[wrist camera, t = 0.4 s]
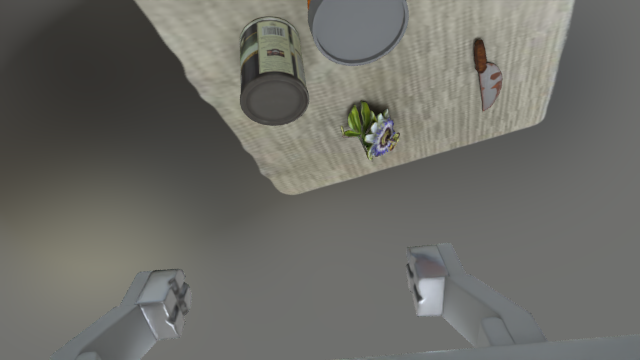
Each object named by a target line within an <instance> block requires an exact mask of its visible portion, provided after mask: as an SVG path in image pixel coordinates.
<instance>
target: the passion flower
mask: <svg viewBox="0 0 640 360" xmlns="http://www.w3.org/2000/svg"><path fill="white" fill-rule="evenodd" d="M360 112H361V116H362V121H363V125H362V126H361V122H360V119H359V116H358V115H359V113H358V110H357V108H356V105H354V106H353V108H352V109H351V112H350V113H349V116H348V125H349V126H350V128H351V129H352V130H353V131H352V130H348V131H345V132H344V130H343V126H341V132H342V137H343V136H348V137H346V138H349V137H358V138H359V139H360V141H361V143H362V145H363V148H364V150H365V152H366V155H367V158H368V159H369V160H371V161H373V158H372V155H375V157H378V156H381V155H383V153H384V154H385V152H386V151H387V152H388V150H387V147H390V151H392V150H393V148H394V147H395V146H396V144H397V142H398V141H399V135H400V133H397V134H395V131H394V130H393V125H394V124H393V120H391V119H390V117H389V114H388V109H385V110H384V111H383V113H382V114H381V113H380V114H378V115H377V117H375V114H374V112H373V111H371V117H370V110H369V107H368V104H367V103H366V102H362V101H361V109H360ZM370 124H371V126H370ZM369 126H370V130H369V132H368V134H365V133H366V131H367V129H368V127H369ZM394 134H395V135H394ZM394 137H395V138H394ZM362 139H363V141H362ZM365 146H366V148H367V150H368V151H367V150H366V148H365Z"/></svg>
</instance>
